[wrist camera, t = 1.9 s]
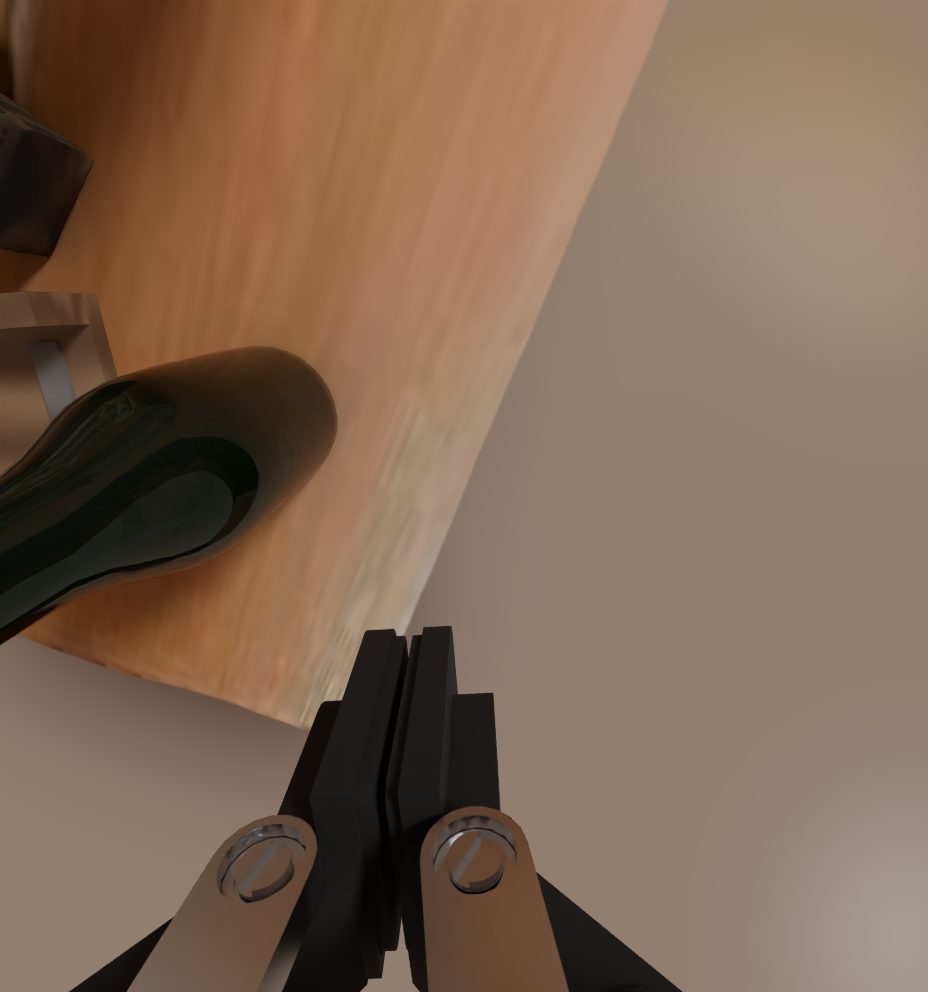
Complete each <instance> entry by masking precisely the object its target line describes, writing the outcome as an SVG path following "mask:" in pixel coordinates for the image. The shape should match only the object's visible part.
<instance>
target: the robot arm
mask: <svg viewBox="0 0 928 992" xmlns="http://www.w3.org/2000/svg"><path fill="white" fill-rule="evenodd" d="M494 714H495V713H494V698H493V693H477V694H459V695H458V691H457V680H456V669H455V656H454V646H453V634H452V627H451V626H439V627H424V628H423V632H422V635H414V636H413V637H412V642H411V648H410V653H409V657H408V649H407V641H406V637H405V636H396V632H395V630H394V629H384V630H367V631H366V632H365V634H364V637H363V640H362V643H361V646H360V648H359V651H358V654H357V657H356V660H355V663H354V666H353V669H352V672H351V675H350V678H349V681H348V684H347V687H346V690H345V693H344V696H343V699H342V700H340V701H325V702H323V703H322V704H321V706H320V708H319V710H318V712H317V715H316V717H315V720H314V722H313V725H312V727H311V730H310V733H309V735H308V738H307V740H306V743H305V745H304V748H303V751H302V753H301V756H300V758H299V761H298V763H297V766H296V768H295V771H294V774H293V776H292V779H291V781H290V784H289V787H288V789H287V792H286V794H285V797H284V799H283V802H282V805H281V807H280V810H279V812H278V815H273V816H268V817H265V818H262V819H258V820H255V821H253V822H252V823H250V824H248V825H246V826H244V827H243V828H240V829H239V830H238V831H236V832H235V833H234V834H233V835H232V836H231V837H229V838H228V839H227V840H225V842H224V843H223V844H222V845H221V846H220V848H219V849H218V850H217V852H216V853H215V854H214V855H213V857H212V858H211V860H210V862H209V863H208V865H207V866H206V868H205V869H204V871H203V873H202V874H201V875H200V877H199V879H198V880H197V882H196V883H195V885H194V886H193V888H192V890H191V891H190V893H189V894H188V896H187V897H186V899H185V901H184V902H183V904H182V906H181V907H180V909H179V910H178V912H177V913H176V915H175V916H174V917H173V918H172V919H170V920H169V921H167V922H166V923H165V924H163V925H162V926H160V927H159V928H158V929H156V930H155V931H154V932H152V933H151V934H149V935H148V936H146V937H145V938H144V939H142V940H141V941H139V942H138V943H137V944H135V945H134V946H132V947H131V948H130V949H128V950H127V951H125V952H124V953H123V954H121V955H120V956H118V957H117V958H116V959H114V960H113V961H111V962H110V963H109V964H107V965H106V966H104V967H103V968H102V969H100V970H99V971H98V972H96V973H95V974H93V975H92V976H90V977H89V978H88V979H86V980H85V981H83V982H82V983H81V984H79V985H78V986H77V987H75V988H74V989H72V990H71V991H69V992H360V991H361V990H362V989H363V988H364V987H365V986H366V985H367V982H368V979H375V978H382V971H383V964H384V957H385V951H396V949H397V947H398V941H399V933H400V925H401V917H402V923H403V930H404V937H405V944H406V949H407V950H408V954H409V961H410V968H411V975H412V982H413V984H414V985H415V986H416V988H417V989H418V990H419V991H420V992H682V991H681V990H680V989H678V988H677V987H676V986H675V985H673V984H672V983H671V982H670V981H669V980H667V979H666V978H665V977H664V976H663V975H661V974H660V973H659V972H658V971H656V970H655V969H654V968H653V967H652V966H650V965H649V964H648V963H647V962H646V961H644V960H643V959H642V958H641V957H639V956H638V955H637V954H636V953H635V952H633V951H632V950H631V949H630V948H628V947H627V946H626V945H625V944H624V943H622V942H621V941H620V940H619V939H618V938H616V937H615V936H614V935H612V934H611V933H610V932H609V931H608V930H607V929H605V928H604V927H603V926H602V925H600V924H599V923H598V922H597V921H595V920H594V919H593V918H592V917H591V916H589V915H588V914H587V913H586V912H585V911H583V910H582V909H581V908H580V907H578V906H577V905H576V904H575V903H574V902H572V901H571V900H570V899H569V898H567V897H566V896H565V895H564V894H563V893H561V892H560V891H559V890H558V889H557V888H555V887H554V886H553V885H552V884H550V883H549V882H548V881H547V880H546V879H544V878H543V877H542V876H541V875H539V874H538V873H537V872H536V870H535V866H534V863H533V859H532V856H531V852H530V848H529V845H528V842H527V840H526V837H525V835H524V834H523V831H522V829H521V827H520V826H519V825H518V824H517V823H516V822H515V821H514V820H513V819H512V818H511V817H509V816H508V815H506V814H504V813H502V812H501V811H500V795H499V778H498V761H497V745H496V729H495V715H494Z"/></svg>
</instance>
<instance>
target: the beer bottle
mask: <svg viewBox="0 0 928 992" xmlns="http://www.w3.org/2000/svg"><path fill="white" fill-rule="evenodd" d="M336 432H337V413H336V408H335V403H334V400H333V398H332V395H331V393H330V390H329V388H328V387H327V385H326V384H325V382H324V380H323V379H322V377H321V376H320V375H319V374H318V373H317V372H316V371H315V370H314V369H313V367H312V366H310V365H309V364H308V363H306V362H305V361H304V360H302V359H301V358H300V357H298V356H296V355H294V354H292V353H290V352H288V351H285V350H281V349H278V348H274V347H265V346H250V347H242V348H235V349H230V350H225V351H220V352H215V353H210V354H205V355H201V356H196V357H192V358H187V359H183V360H178V361H174V362H169V363H165V364H161V365H156V366H152V367H149V368H146V369H143V370H139V371H136V372H133V373H130V374H126V375H123V376H120V377H117V378H115V379H112V380H109V381H106V382H103V383H102V384H100V385H98V386H97V387H95V388H93V389H92V390H90V391H88V392H87V393H85V394H83V395H82V396H80V397H79V398H77V399H75V400H74V401H72V402H71V403H69V404H68V405H66V406H65V407H64V408H63V409H62V410H61V411H60V412H59V414H58V415H57V416H56V417H55V418H54V419H53V420H52V421H51V422H50V423H49V424H48V425H47V426H46V427H45V429H44V430H43V431H42V432H41V433H40V434H39V435H38V436H37V438H36V439H35V440H34V441H33V442H32V443H31V445H30V446H29V447H28V448H27V449H26V451H25V452H24V453H23V454H22V455H21V456H20V457H19V458H18V459H17V460H16V461H15V462H14V463H13V464H12V465H11V466H10V467H9V468H7V469H6V470H5V471H3V472H2V473H1V474H0V645H2V644H3V643H5V642H6V641H7V640H9V639H10V638H12V637H14V636H16V635H17V634H19V633H20V632H22V631H24V630H25V629H27V628H28V627H30V626H32V625H33V624H35V623H36V622H38V621H40V620H41V619H43V618H44V617H46V616H48V615H49V614H51V613H52V612H54V611H56V610H58V609H60V608H62V607H64V606H66V605H68V604H70V603H72V602H74V601H75V600H77V599H79V598H81V597H83V596H85V595H88V594H91V593H94V592H97V591H100V590H102V589H105V588H109V587H113V586H117V585H122V584H126V583H131V582H136V581H142V580H147V579H152V578H158V577H162V576H167V575H171V574H176V573H179V572H183V571H186V570H189V569H192V568H195V567H197V566H199V565H201V564H203V563H205V562H207V561H209V560H211V559H213V558H215V557H217V556H219V555H221V554H223V553H224V552H226V551H228V550H230V549H231V548H232V547H233V546H235V545H236V544H237V543H238V542H240V541H241V540H242V539H243V538H245V537H246V536H247V535H248V534H250V533H251V532H252V531H253V530H254V529H256V528H257V527H258V526H259V525H260V524H261V523H262V522H263V521H265V520H266V519H267V518H268V517H269V516H270V515H271V514H272V513H273V512H274V511H275V510H276V509H277V508H278V507H280V506H281V505H282V504H283V503H284V502H285V501H286V500H287V499H288V498H289V497H290V496H291V495H292V494H293V493H294V492H295V491H296V490H297V489H299V488H300V487H301V486H302V485H303V484H304V483H305V482H306V481H307V480H308V479H309V478H310V477H311V476H312V475H313V474H314V473H315V472H316V471H317V470H318V469H319V467H320V466H321V465H322V463H323V462H324V460H325V459H326V458H327V456H328V455H329V453H330V451H331V449H332V447H333V444H334V442H335V437H336Z"/></svg>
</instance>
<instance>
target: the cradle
mask: <svg viewBox="0 0 928 992" xmlns="http://www.w3.org/2000/svg"><path fill="white" fill-rule="evenodd" d="M115 378H117V374H116V370H115V366H114V362H113V359H112V355H111V351H110V347H109V344H108V340H107V336H106V332H105V329H104V325H103V321H102V317H101V314H100V310H99V306H98V302H97V298H96V295H95V294H78V293H53V292H27V291H26V292H13V293H0V474H1V473H2V472H3V471H5V470H6V469H7V468H9V467H10V466H11V465H12V464H13V463H14V462H15V461H16V460H17V459H18V458H19V457H20V456H21V455H22V454H23V453H24V452H25V451H26V449H27V448H28V447H29V446H30V445H31V443H32V442H33V441H34V440H35V439H36V438H37V436H38V435H39V434H40V433H41V432H42V431H43V430H44V429H45V427H46V426H47V425H48V424H49V423H50V422H51V421H52V420H53V419H54V418H55V417H56V416H57V415H58V414H59V412H60V411H61V410H62V409H63V408H64V407H65V406H66V405H68V404H69V403H71V402H72V401H74V400H75V399H77V398H79V397H80V396H82V395H83V394H85V393H87V392H88V391H90V390H92V389H93V388H95V387H97V386H98V385H100V384H102V383H103V382H106V381H109V380H112V379H115Z"/></svg>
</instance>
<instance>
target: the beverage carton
mask: <svg viewBox="0 0 928 992" xmlns="http://www.w3.org/2000/svg"><path fill="white" fill-rule="evenodd" d="M92 163H93V161H92V159H91V158H90V157H89V155H87V154H86V153H85V152H83V151H82V150H81V149H79V148H78V147H77V146H75V145H74V144H73V143H71V142H70V141H69V140H68V139H66V138H65V137H64V136H62V135H61V134H59V133H58V132H56V131H55V130H54V129H52V128H51V127H49V126H48V125H46V124H45V123H44V122H42V121H41V120H39V119H38V118H36V117H35V116H33V115H32V114H31V113H29V112H28V111H26V110H25V109H23V108H22V107H21V106H19V105H18V104H16V103H15V102H13V101H12V100H10V99H9V98H7V97H6V96H4V95H3V94H1V93H0V249H3V250H12V251H16V252H21V253H30V254H34V255H40V256H46V257H48V256H50V255H51V253H52V251H53V248H54V246H55V244H56V242H57V240H58V237H59V234H60V231H61V229H62V227H63V225H64V223H65V221H66V219H67V217H68V214H69V212H70V210H71V208H72V207H73V205H74V203H75V200H76V198H77V195H78V193H79V191H80V189H81V187H82V185H83V182H84V180H85V177H86V176H87V174H88V172H89V170H90V168H91V166H92Z"/></svg>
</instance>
